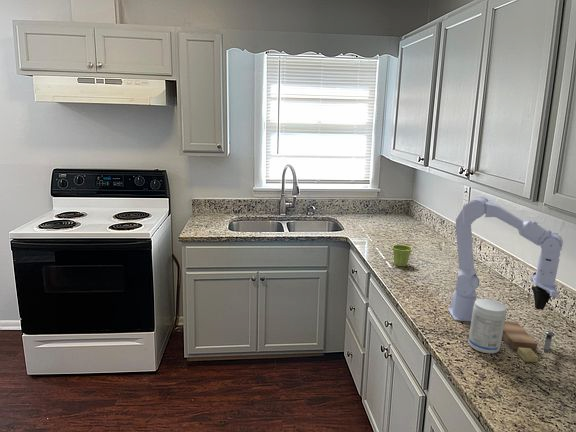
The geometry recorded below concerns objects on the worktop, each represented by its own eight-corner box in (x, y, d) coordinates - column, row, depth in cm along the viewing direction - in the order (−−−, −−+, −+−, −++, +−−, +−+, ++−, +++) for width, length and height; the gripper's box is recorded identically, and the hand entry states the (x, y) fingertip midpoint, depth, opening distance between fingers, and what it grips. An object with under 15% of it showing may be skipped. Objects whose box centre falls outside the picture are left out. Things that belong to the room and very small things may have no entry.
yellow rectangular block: (525, 355, 136) (524, 363, 136) (538, 356, 136) (537, 363, 136) (518, 347, 141) (516, 354, 141) (530, 348, 141) (529, 355, 141)
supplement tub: (474, 336, 151) (481, 295, 148) (504, 347, 145) (511, 305, 142) (462, 346, 144) (469, 303, 141) (493, 358, 138) (501, 313, 135)
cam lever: (539, 361, 138) (542, 345, 136) (542, 345, 148) (545, 330, 146) (548, 364, 136) (551, 347, 135) (551, 348, 146) (554, 332, 145)
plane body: (493, 328, 158) (495, 320, 157) (515, 330, 158) (517, 322, 157) (511, 350, 144) (513, 341, 143) (535, 352, 143) (537, 343, 142)
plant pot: (402, 269, 214) (405, 251, 212) (386, 263, 220) (388, 246, 218) (414, 265, 220) (416, 248, 218) (397, 260, 226) (399, 243, 224)
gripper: (571, 279, 140) (562, 319, 144) (548, 263, 155) (541, 300, 158) (548, 277, 141) (540, 317, 144) (527, 262, 155) (520, 299, 158)
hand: (539, 308), depth 151 cm, fingers closed
